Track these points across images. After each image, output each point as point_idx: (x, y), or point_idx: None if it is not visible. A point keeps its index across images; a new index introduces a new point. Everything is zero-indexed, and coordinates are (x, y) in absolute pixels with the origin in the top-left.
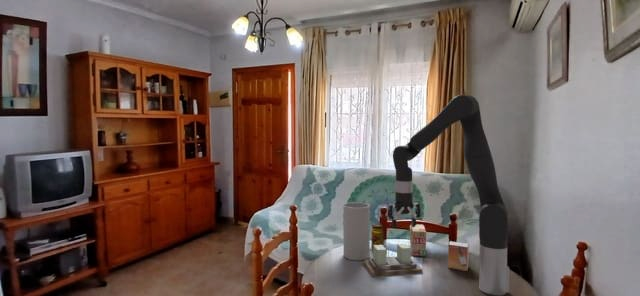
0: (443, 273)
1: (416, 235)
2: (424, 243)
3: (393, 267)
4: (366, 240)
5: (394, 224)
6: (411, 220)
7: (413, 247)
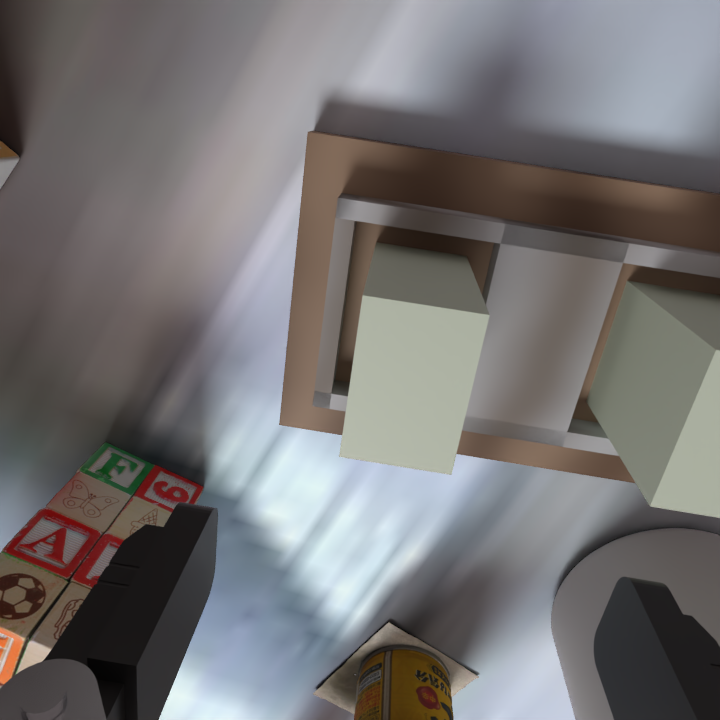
0: (123, 49)
1: None
2: (53, 515)
3: (586, 234)
4: None
5: (691, 659)
6: (166, 695)
7: None
